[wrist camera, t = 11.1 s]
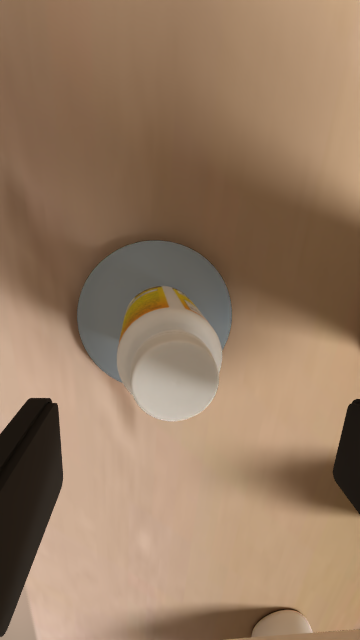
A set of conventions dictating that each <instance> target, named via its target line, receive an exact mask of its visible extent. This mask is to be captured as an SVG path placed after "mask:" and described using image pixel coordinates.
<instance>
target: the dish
mask: <svg viewBox="0 0 360 640" xmlns="http://www.w3.org/2000/svg"><path fill="white" fill-rule="evenodd" d="M154 286H168V287H172V288H175V289H177V290H179V291H181V292H183V293H184V294H185V295H186V296H187V297H188V298H189V299H190V300H191V301H192V302H193V304H194V305H195V306H196V307H197V308H198V310H199V311H200V312H201V313H202V315H203V316H204V317H205V319H206V320H207V321H208V322H209V324H210V325H211V326H212V327H213V329H214V330H215V332H216V334H217V336H218V338H219V341H220V344H221V348H222V350H223V348H224V346H225V344H226V341H227V339H228V336H229V332H230V328H231V322H232V308H231V300H230V296H229V292H228V290H227V287H226V284H225V282H224V281H223V279H222V277H221V275H220V274H219V273H218V271H217V270H216V268H215V267H214V266H213V265H212V264H211V263H210V262H209V261H208V260H207V259H206V258H204V257H203V256H202V255H200V254H199V253H197V252H196V251H194V250H192V249H190V248H188V247H186V246H183V245H181V244H177V243H173V242H168V241H160V240H155V241H143V242H137V243H134V244H130V245H127V246H125V247H123V248H120V249H118V250H116V251H115V252H113V253H112V254H110V255H108V256H107V257H106V258H105V259H104V260H102V261H101V262H100V263H99V264H98V265H97V266H96V268H95V269H94V270H93V271H92V272H91V274H90V275H89V277H88V278H87V280H86V282H85V284H84V286H83V288H82V291H81V294H80V298H79V302H78V308H77V322H78V330H79V333H80V337H81V340H82V343H83V345H84V347H85V349H86V351H87V353H88V354H89V356H90V357H91V359H92V360H93V361H94V362H95V364H96V365H97V366H98V367H99V368H100V369H101V370H102V371H104V372H105V373H106V374H108V375H109V376H110V377H112V378H114V379H116V380H117V381H119V382H122V380H121V378H120V376H119V373H118V368H117V351H118V345H119V340H120V336H121V331H122V326H123V321H124V317H125V313H126V310H127V307H128V305H129V303H130V302H131V301H132V299H133V298H134V297H135V296H136V295H137V294H139V293H140V292H142V291H143V290H145V289H148V288H150V287H154ZM122 383H123V382H122Z"/></svg>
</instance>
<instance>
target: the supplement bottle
mask: <svg viewBox="0 0 360 640" xmlns="http://www.w3.org/2000/svg"><path fill="white" fill-rule="evenodd" d="M221 364H222V348H221V344H220V341H219V338H218V336H217V334H216V332H215V330H214V329H213V327H212V326H211V325H210V324H209V322H208V321H207V320H206V319H205V317H204V316H203V315H202V313H201V312H200V311H199V310H198V308H197V307H196V306H195V305H194V304H193V302H192V301H191V300H190V299H189V298H188V297H187V296H186V295H185V294H184V293H183V292H181V291H179V290H177V289H175V288H172V287H168V286H154V287H150V288H148V289H145V290H143V291H142V292H140V293H139V294H137V295H136V296H135V297H134V298H133V299H132V301H131V302H130V303H129V305H128V307H127V310H126V313H125V317H124V321H123V326H122V331H121V336H120V340H119V345H118V351H117V368H118V373H119V376H120V378H121V380H122V382H123V384H124V386H125V387H126V389H127V390H128V391H129V392H130V393H131V394H132V395H133V397H134V399H135V401H136V403H137V404H138V405H139V407H140V408H141V409H142V410H143V411H144V412H146V413H147V414H149V415H150V416H152V417H154V418H157V419H160V420H164V421H181V420H185V419H188V418H191V417H193V416H195V415H197V414H199V413H200V412H202V411H203V410H204V409H205V408H206V407H207V406H208V405H209V404H210V403H211V401H212V400H213V398H214V397H215V394H216V392H217V389H218V384H219V372H220V369H221Z"/></svg>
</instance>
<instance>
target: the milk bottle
mask: <svg viewBox="0 0 360 640" xmlns="http://www.w3.org/2000/svg"><path fill="white" fill-rule="evenodd" d="M302 633H313V631H312V629H311V627H310V625H309V622H308V621H307V619H306V618H305V617H304V616H303V615H302V614H301V613H300V612H297V611H294V610H281V611H277V612H274V613H271V614H269V615H267V616H265V617H264V618H263V619H261V620H260V621H259V622H258V623H257V624H256V626H255V627H254V629H253V631H252V636H251V637H263V636H276V635H289V634H302Z"/></svg>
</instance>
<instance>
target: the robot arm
mask: <svg viewBox="0 0 360 640" xmlns="http://www.w3.org/2000/svg"><path fill="white" fill-rule="evenodd" d="M333 476H334V479H335V481H336V483H337V484H338V486H339V487H340V488H341V490H342V491H343V492H344V494H345V495H346V496H347V498H348V499H349V500H350V502H351V503H352V504H353V506H354V507H355V509H356V510H357V511H358V513H359V514H360V399H356V400H354V401H353V402H352V404H350V405H349V406H348V409H347V413H346V417H345V421H344V426H343V430H342V434H341V438H340V442H339V447H338V451H337V455H336V459H335V464H334V468H333ZM62 482H63V468H62V454H61V440H60V426H59V412H58V405H57V403H52V400H51V399H50V398H29V399H28V400H27V401H26V403H25V404H24V405H23V406H22V408H21V409H20V410H19V411H18V413H17V414H16V415H15V416H14V418H13V419H12V420H11V421H10V423H9V424H8V425H7V426H6V428H5V429H4V430H3V431H2V433H1V434H0V637H2V636H3V635H4V634H5V632H6V630H7V628H8V626H9V623H10V621H11V618H12V616H13V613H14V611H15V608H16V605H17V603H18V600H19V597H20V595H21V592H22V590H23V587H24V584H25V582H26V579H27V577H28V574H29V571H30V569H31V566H32V563H33V561H34V558H35V556H36V553H37V550H38V548H39V545H40V543H41V540H42V537H43V535H44V532H45V529H46V527H47V524H48V522H49V519H50V516H51V514H52V511H53V509H54V506H55V503H56V501H57V498H58V495H59V493H60V490H61V487H62ZM225 640H360V629H356V630H342V631H329V632H316V633H302V634H289V635H276V636H263V637H250V638H237V639H225Z"/></svg>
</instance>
